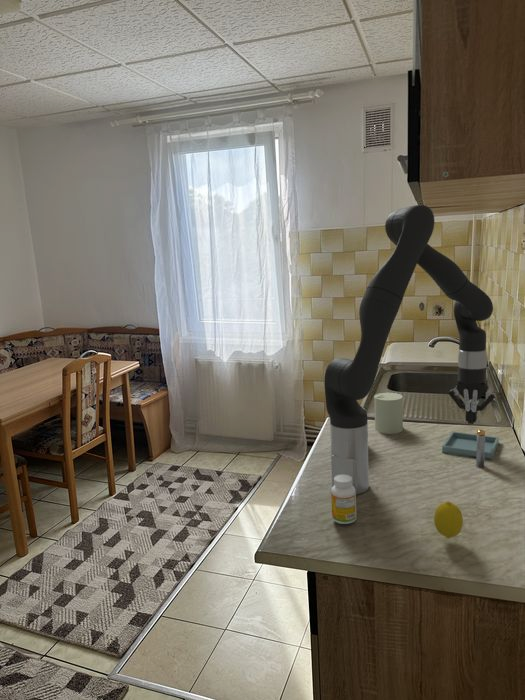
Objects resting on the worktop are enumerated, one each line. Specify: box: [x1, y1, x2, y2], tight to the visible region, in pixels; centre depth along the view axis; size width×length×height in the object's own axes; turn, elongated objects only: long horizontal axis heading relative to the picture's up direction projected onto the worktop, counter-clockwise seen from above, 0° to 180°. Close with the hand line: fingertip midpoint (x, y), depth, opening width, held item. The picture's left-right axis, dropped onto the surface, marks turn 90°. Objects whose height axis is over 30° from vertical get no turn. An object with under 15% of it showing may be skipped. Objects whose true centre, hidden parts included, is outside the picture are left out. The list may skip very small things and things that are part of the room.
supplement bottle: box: [330, 475, 357, 525], centre depth 113 cm, size 5×5×10 cm
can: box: [373, 392, 404, 435], centre depth 167 cm, size 9×9×12 cm
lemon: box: [433, 500, 464, 539], centre depth 104 cm, size 6×6×8 cm
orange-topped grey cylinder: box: [475, 429, 486, 469], centre depth 136 cm, size 2×2×10 cm
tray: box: [441, 431, 500, 461], centre depth 149 cm, size 13×13×2 cm
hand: (471, 423), depth 148 cm, fingers closed
